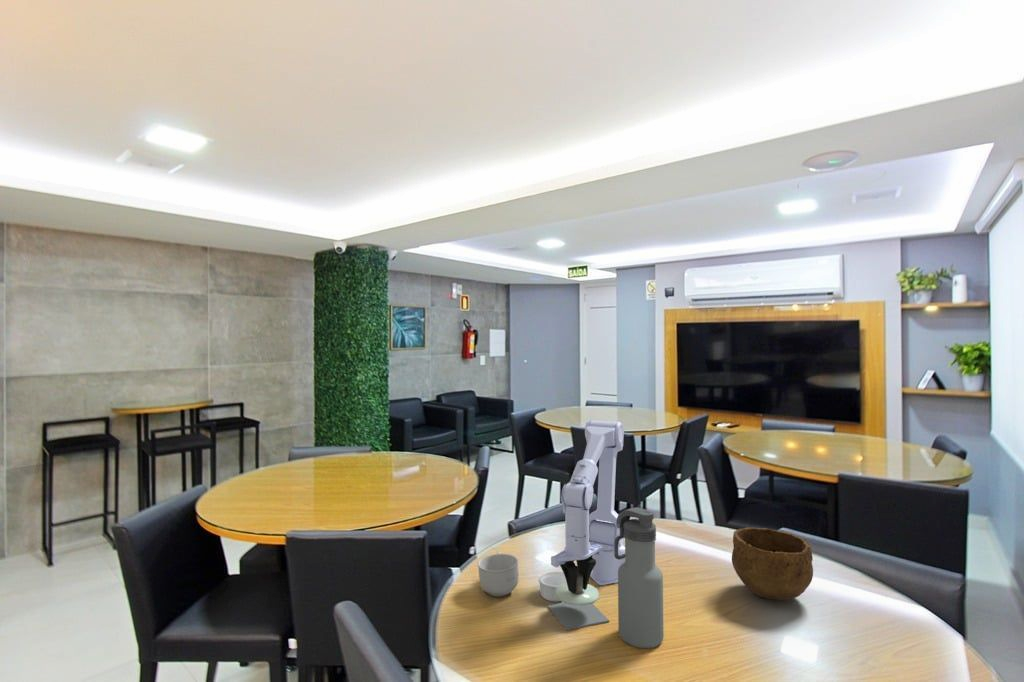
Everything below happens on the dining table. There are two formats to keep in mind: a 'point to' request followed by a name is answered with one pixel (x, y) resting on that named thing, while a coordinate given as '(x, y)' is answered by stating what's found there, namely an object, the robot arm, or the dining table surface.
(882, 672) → the dining table surface
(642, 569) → the water bottle
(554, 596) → the ramekin
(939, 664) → the dining table surface
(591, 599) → the lid
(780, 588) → the bowl
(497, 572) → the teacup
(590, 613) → the mat
